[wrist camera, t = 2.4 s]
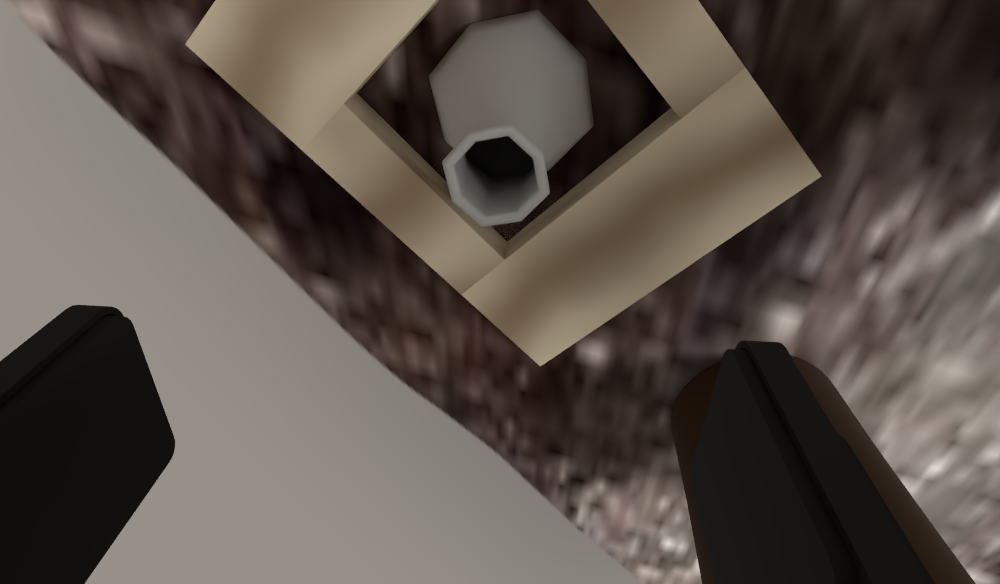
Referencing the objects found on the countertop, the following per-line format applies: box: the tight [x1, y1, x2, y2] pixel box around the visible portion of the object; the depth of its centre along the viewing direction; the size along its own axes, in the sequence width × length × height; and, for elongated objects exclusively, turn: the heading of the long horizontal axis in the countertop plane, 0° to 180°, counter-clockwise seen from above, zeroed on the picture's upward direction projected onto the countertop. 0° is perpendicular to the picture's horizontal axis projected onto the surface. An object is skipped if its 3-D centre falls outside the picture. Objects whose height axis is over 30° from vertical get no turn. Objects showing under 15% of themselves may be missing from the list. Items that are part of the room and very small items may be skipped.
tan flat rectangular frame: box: [185, 0, 821, 366], centre depth 25 cm, size 22×16×2 cm
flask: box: [428, 9, 594, 227], centre depth 22 cm, size 7×7×10 cm
